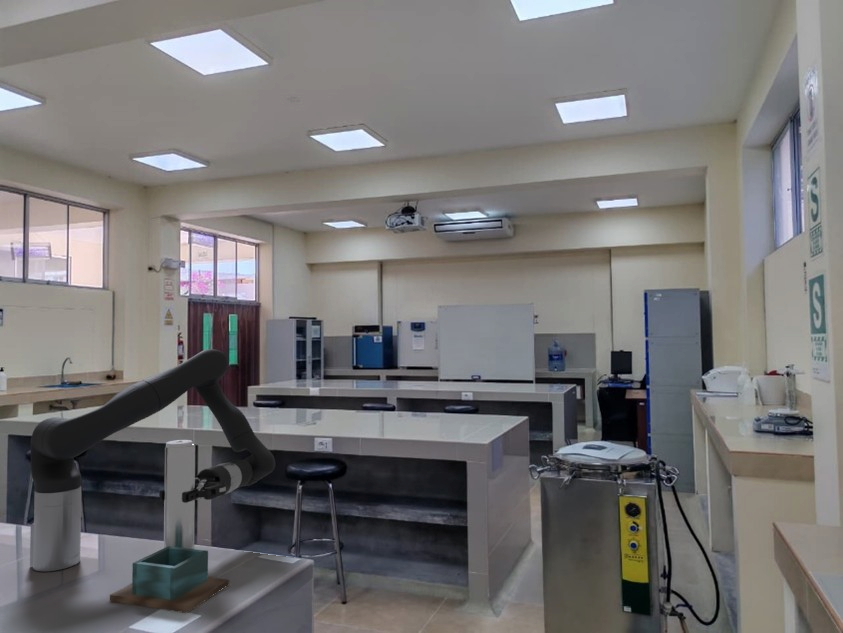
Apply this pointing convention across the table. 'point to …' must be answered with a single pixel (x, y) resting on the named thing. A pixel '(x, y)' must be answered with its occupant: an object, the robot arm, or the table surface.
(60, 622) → the table surface
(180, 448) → the silver metal cylinder
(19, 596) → the table surface
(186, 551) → the cup stand
